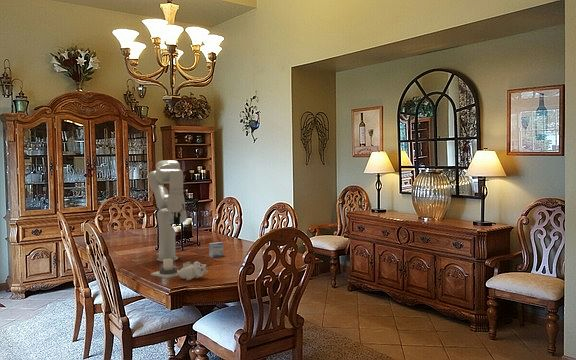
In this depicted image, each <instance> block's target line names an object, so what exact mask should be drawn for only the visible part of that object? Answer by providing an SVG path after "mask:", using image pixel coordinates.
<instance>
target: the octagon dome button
mask: <svg viewBox="0 0 576 360" xmlns="http://www.w3.org/2000/svg"><path fill="white" fill-rule="evenodd" d="M180 270H181V269H180ZM180 270H179V269H178V267H174V266H173V270H168V271H165V270H164V268H163V267H161V268H159V271H154V272H150V276H154V277H159V278H164V279H171V278H175V277H178V276H179V271H180Z"/></svg>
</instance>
